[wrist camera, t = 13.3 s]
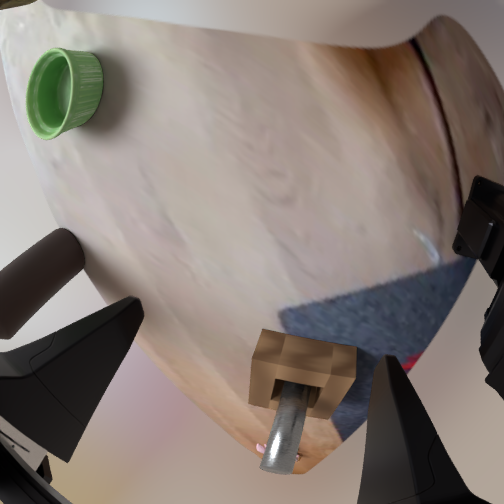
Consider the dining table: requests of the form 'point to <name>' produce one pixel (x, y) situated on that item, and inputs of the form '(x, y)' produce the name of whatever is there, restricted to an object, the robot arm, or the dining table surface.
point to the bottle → (37, 278)
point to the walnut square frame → (301, 371)
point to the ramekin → (63, 91)
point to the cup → (14, 3)
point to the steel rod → (286, 429)
